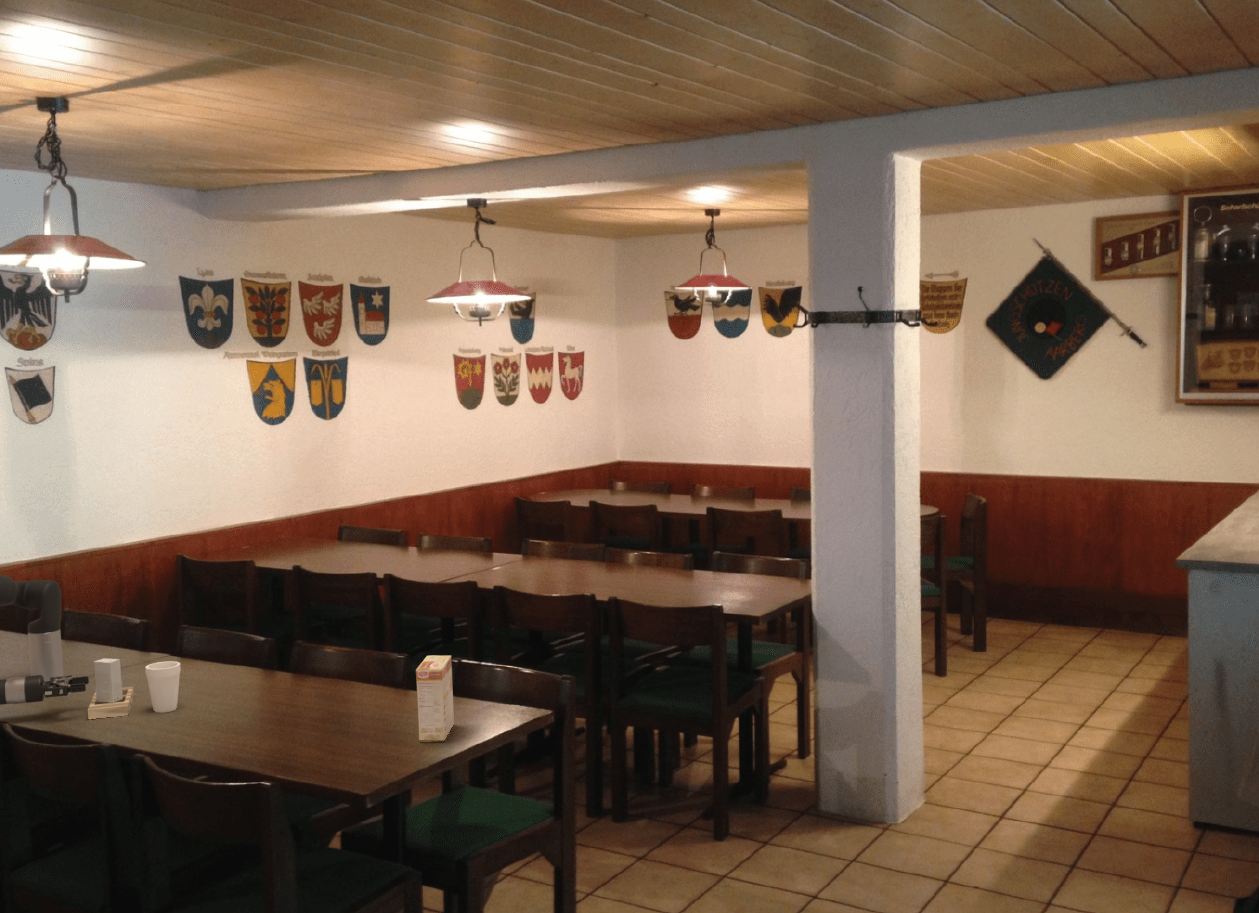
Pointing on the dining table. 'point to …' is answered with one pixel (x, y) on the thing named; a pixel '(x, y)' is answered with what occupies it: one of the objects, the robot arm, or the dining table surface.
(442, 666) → the coffeecake box
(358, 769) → the dining table surface
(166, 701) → the foam cup
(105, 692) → the skincare box
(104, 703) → the wooden crate
